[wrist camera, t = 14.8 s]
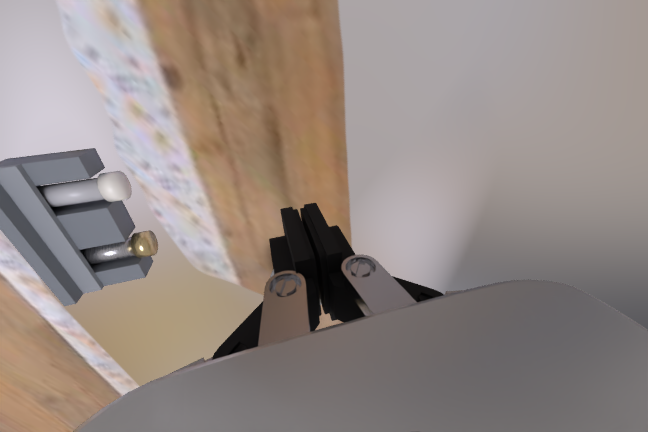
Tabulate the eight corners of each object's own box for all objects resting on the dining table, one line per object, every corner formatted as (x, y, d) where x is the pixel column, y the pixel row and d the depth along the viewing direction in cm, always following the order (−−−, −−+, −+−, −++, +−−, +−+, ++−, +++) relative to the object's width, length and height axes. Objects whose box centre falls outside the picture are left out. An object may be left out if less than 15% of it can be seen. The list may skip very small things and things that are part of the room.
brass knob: (78, 238, 40) (63, 254, 37) (150, 226, 42) (142, 239, 39) (92, 258, 42) (79, 275, 39) (160, 245, 44) (153, 260, 41)
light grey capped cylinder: (38, 178, 35) (17, 190, 32) (122, 167, 37) (110, 177, 34) (56, 204, 37) (37, 218, 34) (134, 192, 39) (124, 204, 36)
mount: (7, 158, 34) (-43, 177, 28) (94, 148, 36) (65, 163, 30) (88, 274, 44) (64, 306, 38) (153, 261, 46) (139, 289, 40)
